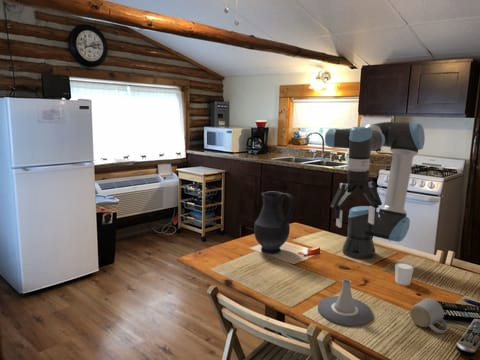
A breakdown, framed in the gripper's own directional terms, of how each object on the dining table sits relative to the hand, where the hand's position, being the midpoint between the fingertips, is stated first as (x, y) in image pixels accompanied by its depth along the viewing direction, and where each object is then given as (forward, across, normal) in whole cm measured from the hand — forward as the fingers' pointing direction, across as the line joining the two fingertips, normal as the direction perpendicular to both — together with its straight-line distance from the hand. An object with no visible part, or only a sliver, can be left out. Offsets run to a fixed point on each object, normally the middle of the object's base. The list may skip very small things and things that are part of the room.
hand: (355, 224), depth 142 cm
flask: (+24, -12, -16) cm, 31 cm away
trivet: (+25, -12, -16) cm, 32 cm away
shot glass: (+27, +23, 0) cm, 35 cm away
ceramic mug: (+26, +11, -29) cm, 41 cm away
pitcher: (+26, -17, +42) cm, 53 cm away
